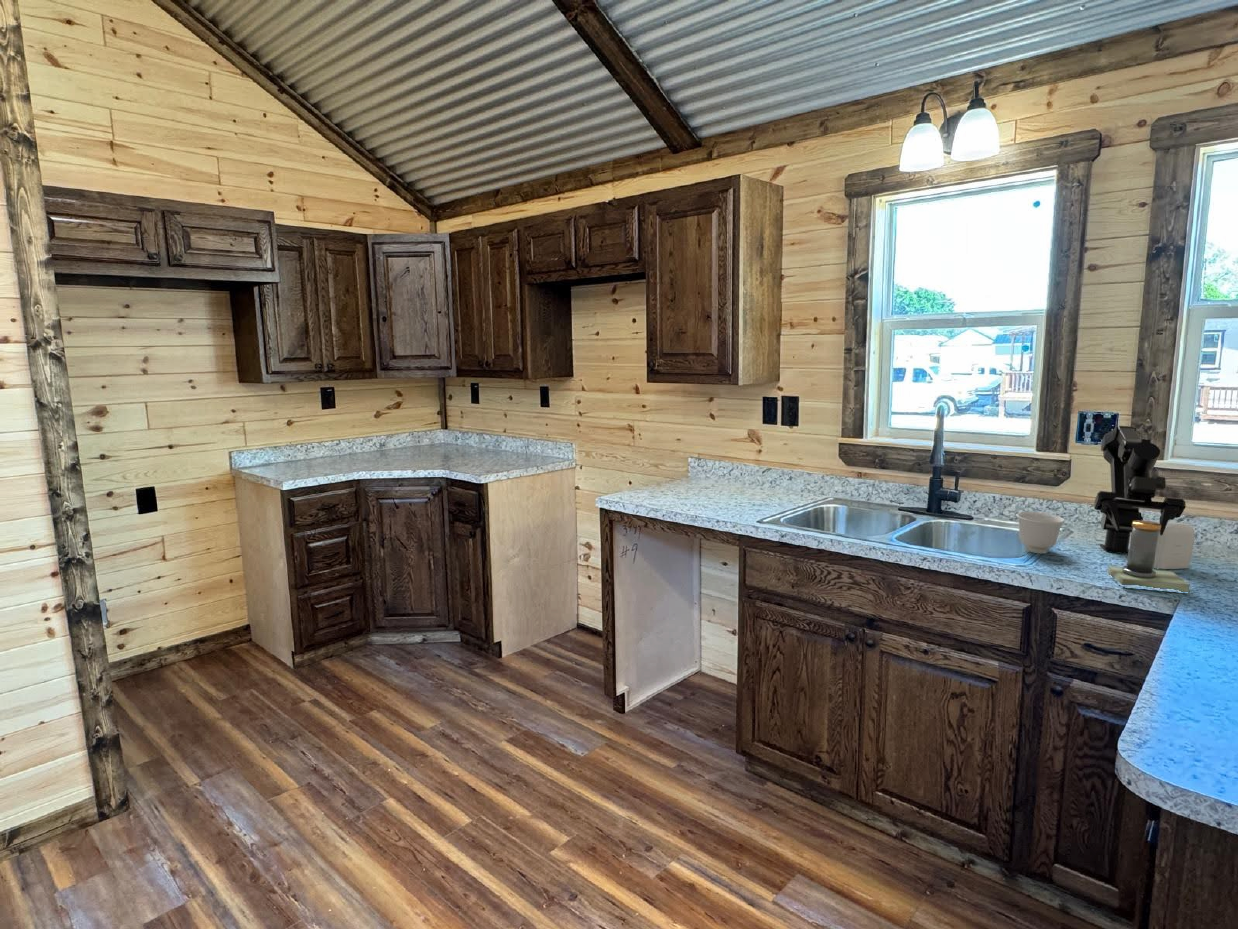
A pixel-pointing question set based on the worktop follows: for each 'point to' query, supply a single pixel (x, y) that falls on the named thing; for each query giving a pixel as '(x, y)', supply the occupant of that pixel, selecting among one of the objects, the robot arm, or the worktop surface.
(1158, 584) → the stand
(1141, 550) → the cylinder
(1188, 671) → the worktop surface
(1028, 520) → the teacup
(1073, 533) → the worktop surface
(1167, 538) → the photo printer
